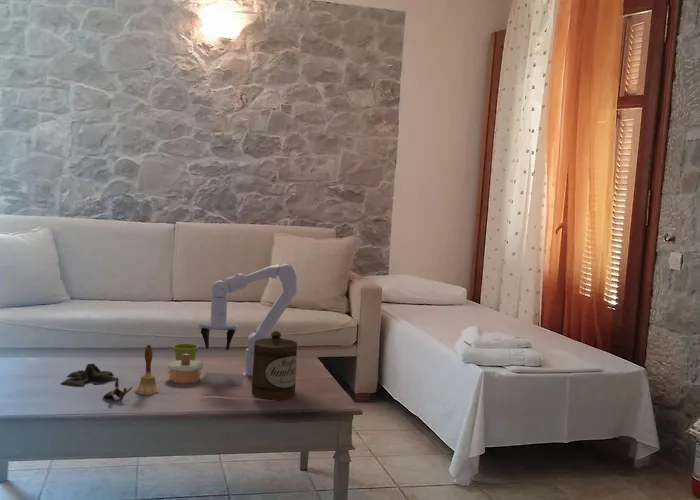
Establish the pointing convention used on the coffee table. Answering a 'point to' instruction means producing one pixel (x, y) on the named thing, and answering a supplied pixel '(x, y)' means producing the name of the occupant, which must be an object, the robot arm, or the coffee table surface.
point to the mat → (222, 379)
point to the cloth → (89, 377)
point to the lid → (185, 364)
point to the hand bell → (147, 376)
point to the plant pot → (185, 350)
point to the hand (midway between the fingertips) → (217, 348)
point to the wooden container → (274, 368)
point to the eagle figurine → (118, 391)
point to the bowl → (185, 376)
